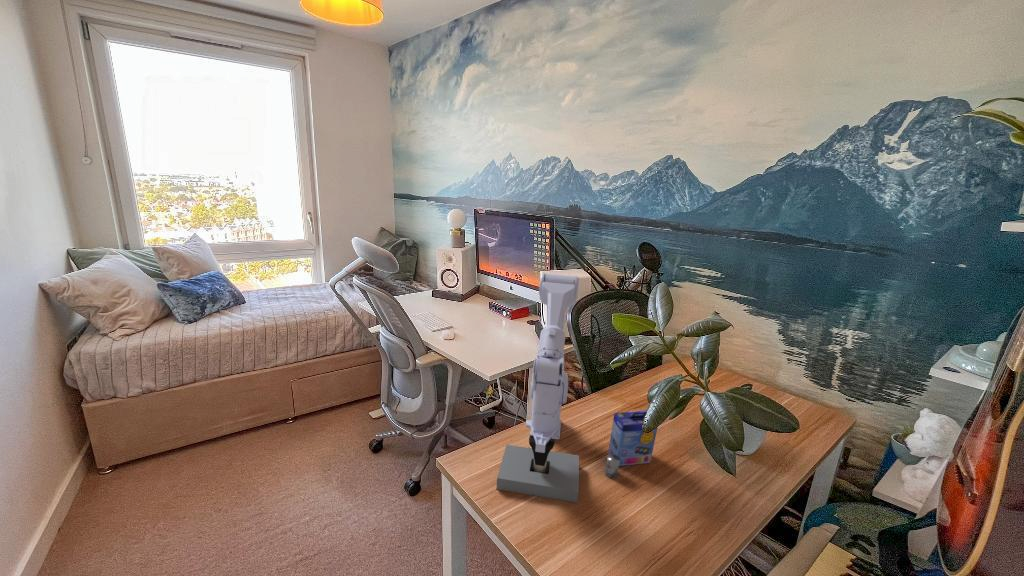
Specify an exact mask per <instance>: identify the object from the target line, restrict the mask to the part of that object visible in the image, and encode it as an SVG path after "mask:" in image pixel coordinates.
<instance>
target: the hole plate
mask: <svg viewBox="0 0 1024 576" xmlns="http://www.w3.org/2000/svg"><path fill="white" fill-rule="evenodd" d="M533 465H534V454H533V450H532V448H530V447H526V446H525V447H524V446H519V445H512V444H506V446H505V448H504V452H503V455H502V460H501V463H500V467H499V470H498V473H497V477H496V490H499V491H500V490H501V491H506V492H509V493H518V494H522V495H528V496H536V497H540V498H547V499H553V500H557V501H558V500H559V501H565V502H570V503H576V504H577V503H578V500H579V492H580V489H579V488H580V455H577V454H571V453H563V452H557V451H552V450H551V451H550V452H549V454H548V457H547V465H546V473H545V474H544V473H538V472H533Z"/></svg>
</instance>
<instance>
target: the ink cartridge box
mask: <svg viewBox="0 0 1024 576" xmlns="http://www.w3.org/2000/svg"><path fill="white" fill-rule="evenodd" d="M647 411H648V410H646V409H645V410H637V411H636V410H635V411H630V412H629V411H622V412H614V413H613V419H612V427H611V433H610V439H609V447H608V455H609V454H614V455H617V456H618V457H619V458H620V463H619V467H621V466H631V465H633V466H634V465H641V464H642V465H643V464H650V463H651V461H652V457H653V456H652V455H653V451H654V446H655V442H656V437H657V433H658V428H659V427H657V428H655V429H654V430H652V431H651V432H649V433H645V432H643V430H642V425H643V420H644V417H645V415H646V413H647Z"/></svg>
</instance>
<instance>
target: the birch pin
mask: <svg viewBox="0 0 1024 576" xmlns="http://www.w3.org/2000/svg"><path fill="white" fill-rule="evenodd" d="M546 465H547V460H546V463H545V465H544V466H540V465H535V461H534V465H533V470H532V472H538V473H544V474H547V472H546Z"/></svg>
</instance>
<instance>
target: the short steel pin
mask: <svg viewBox="0 0 1024 576" xmlns="http://www.w3.org/2000/svg"><path fill="white" fill-rule="evenodd" d="M606 456H607V457H606V463H605V469H604V475H605V476H606V477H607V478H609V479H612V480H613V479H617V478H618V476H619V469H620V466H619V463H620V458H619V457H618V456H617V455H614V454H609V453H608V455H606Z"/></svg>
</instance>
